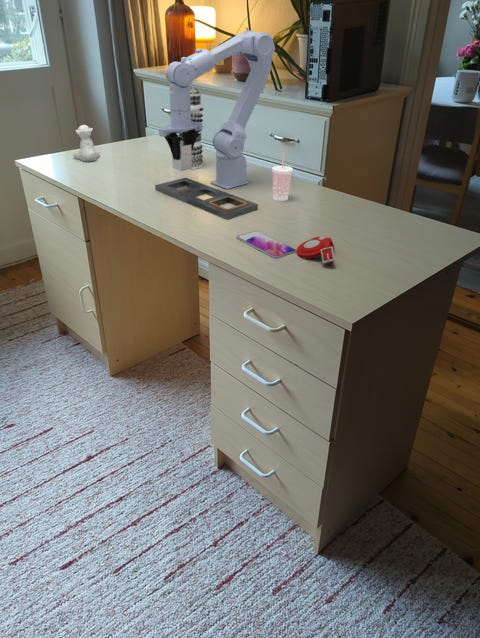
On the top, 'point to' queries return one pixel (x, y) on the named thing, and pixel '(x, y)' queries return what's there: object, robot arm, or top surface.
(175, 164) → the block
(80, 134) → the white creature statuette
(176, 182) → the rail
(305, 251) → the tracker holder
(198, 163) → the decorative candle
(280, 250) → the smartphone
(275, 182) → the beverage cup
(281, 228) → the top surface
